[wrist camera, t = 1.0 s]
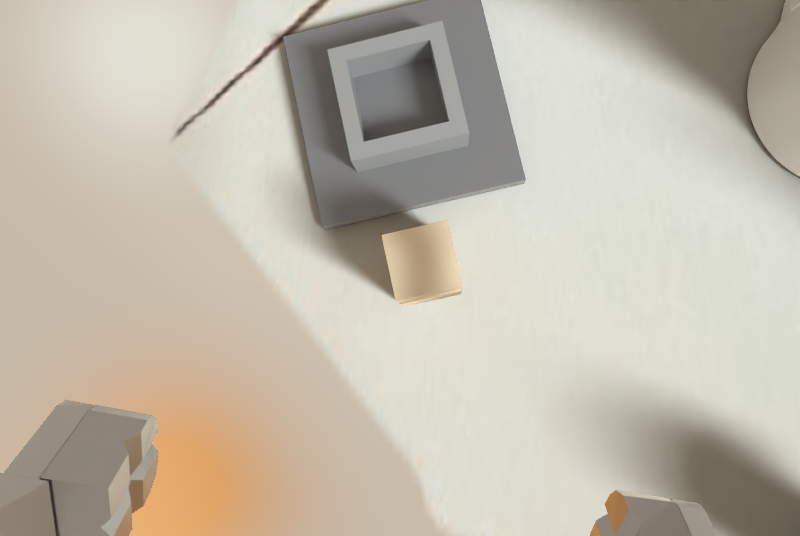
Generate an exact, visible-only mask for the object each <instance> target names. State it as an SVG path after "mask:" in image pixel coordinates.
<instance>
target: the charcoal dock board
mask: <svg viewBox="0 0 800 536" xmlns="http://www.w3.org/2000/svg"><path fill="white" fill-rule="evenodd" d="M283 38H284V43H285V48H286V53H287V58H288V63H289V68H290V73H291V78H292V83H293V88H294V93H295V97H296V102H297V107H298V112H299V117H300V122H301V127H302V132H303V137H304V142H305V147H306V152H307V156H308V161H309V166H310V171H311V176H312V181H313V186H314V191H315V196H316V201H317V206H318V211H319V215H320V220H321V225H322V228H324V229H325V230H326V229H330V228H334V227H339V226H343V225H347V224H352V223H356V222H360V221H365V220H369V219H373V218H377V217H382V216H386V215H390V214H395V213H399V212H403V211H408V210H412V209H416V208H421V207H425V206H429V205H433V204H438V203H442V202H446V201H451V200H455V199H459V198H464V197H468V196H472V195H476V194H481V193H485V192H489V191H494V190H498V189H502V188H507V187H511V186H515V185H520V184H524V182H525V180H526V179H525V175H524V171H523V167H522V163H521V159H520V155H519V151H518V147H517V143H516V139H515V135H514V131H513V127H512V123H511V119H510V115H509V111H508V107H507V103H506V99H505V95H504V91H503V87H502V83H501V79H500V75H499V71H498V67H497V63H496V59H495V55H494V51H493V47H492V43H491V39H490V35H489V31H488V27H487V23H486V19H485V15H484V11H483V7H482V3H481V0H425V1H422V2H418V3H414V4H410V5H406V6H402V7H398V8H394V9H390V10H386V11H382V12H378V13H374V14H370V15H366V16H362V17H359V18H355V19H351V20H347V21H343V22H339V23H335V24H331V25H327V26H323V27H319V28H315V29H311V30H307V31H303V32H300V33H296V34H292V35H288V36H284V37H283Z"/></svg>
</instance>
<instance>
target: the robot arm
mask: <svg viewBox="0 0 800 536" xmlns="http://www.w3.org/2000/svg"><path fill="white" fill-rule="evenodd" d="M747 99H748V108H749V113H750V117H751V120H752V123H753V126H754V128H755V130H756V132H757V134H758V136H759V138H760V140H761V141H762V143H763V144H764V146H765V147H766V148H767V150H768V151H769V152H770V153H771V155H772V156H773V157H774V158H775V159H776V160H777V161H778V162H779V163H781V164H782V165H783V166H784V167H786V168H787V169H788V170H790V171H791V172H793V173H794V174H796V175H797V176H799V177H800V0H785V3H784V7H783V11H782V15H781V20H780V22H779V24H778V26H777V27H776V29H775V30H774V32H773V33H772V34H771V35H770V37H769V38H768V39H767V40H766V42H765V43H764V44H763V46H762V47H761V49H760V50H759V52H758V54H757V56H756V58H755V60H754V62H753V65H752V67H751V71H750V75H749V80H748V88H747ZM157 432H158V431H157V418H156V417H154V416H152V415H147V414H141V413H136V412H131V411H125V410H120V409H115V408H109V407H104V406H99V405H91V404H85V403H80V402H74V401H68V400H65V401H64V402H62V403H60V404H59V405H57V406H56V407H55V409H54V410H53V411H52V413H51V414H50V415H49V416H48V418H47V419H46V420H45V421H44V423H43V424H42V425H41V427H40V428H39V429H38V430H37V432H36V433H35V434H34V435H33V437H32V438H31V439H30V441H29V442H28V443H27V444H26V445H25V447H24V448H23V449H22V450H21V452H20V453H19V454H18V456H17V457H16V458H15V459H14V461H13V462H12V463H11V464H10V466H9V467H8V468H7V469H6V471H5V472H4V473H3V474H1V473H0V536H129V534H130V532H131V530H132V513H134V512H135V511H137V510H138V509H140V508H141V507H143V506H144V504H145V502H146V500H147V498H148V495H149V493H150V491H151V488H152V485H153V482H154V478H155V475H156V470H157V463H158V451H157V449H156V448H155V447H154V446H153V445H152V441H153V440H154V438H155V436H156V434H157ZM605 506H606V509H607V512H608V514H607V515H605V516H603V517H601V518H600V519H598V520H596V522H595V524H594V526H593V529H592V531H591V533H590V536H718V535H717V533H716V531H715V529H714V527H713V525H712V523H711V521H710V519H709V517H708V515H707V513H706V511H705V509H704V508H703V507H702V506H701V505H700V504H699V503H696V502H690V501H683V500H677V499H668V498H665V497H658V496H651V495H645V494H638V493H632V492H625V491H618V490H616V491H614V492H613V493H611V494H610V495H609V497H608V499H607V501H606V503H605Z"/></svg>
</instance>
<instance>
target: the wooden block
mask: <svg viewBox="0 0 800 536" xmlns="http://www.w3.org/2000/svg"><path fill="white" fill-rule="evenodd" d="M381 236H382V240H383V245H384V249H385V254H386V259H387V263H388V268H389V273H390V277H391V282H392V287H393V291H394V296H395V300H396V301H397V302H398V303H400V304H402V305H404V306H409V305H414V304H418V303H423V302H427V301H432V300H436V299H441V298H445V297H450V296H454V295H459V294H461V291H462V287H463V285H462V281H461V277H460V272H459V268H458V264H457V259H456V255H455V251H454V246H453V242H452V238H451V233H450V229H449V225H448V220H444V221H440V222H436V223H431V224H427V225H423V226H418V227H414V228H410V229H405V230H401V231H397V232H392V233H388V234H383V235H381Z"/></svg>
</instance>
